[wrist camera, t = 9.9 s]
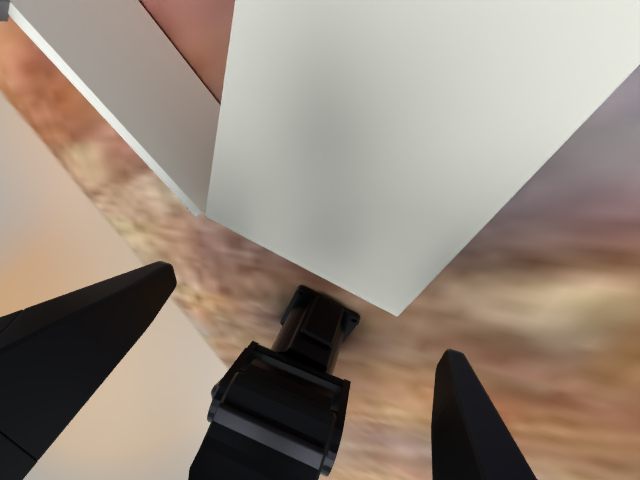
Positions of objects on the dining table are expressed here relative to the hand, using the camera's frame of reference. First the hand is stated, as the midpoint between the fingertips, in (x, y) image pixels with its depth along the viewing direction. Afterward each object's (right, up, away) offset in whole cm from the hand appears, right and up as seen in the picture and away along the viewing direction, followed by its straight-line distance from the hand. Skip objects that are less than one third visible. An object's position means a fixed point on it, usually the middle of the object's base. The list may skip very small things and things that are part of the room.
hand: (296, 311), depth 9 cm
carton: (+5, +10, +8) cm, 13 cm away
